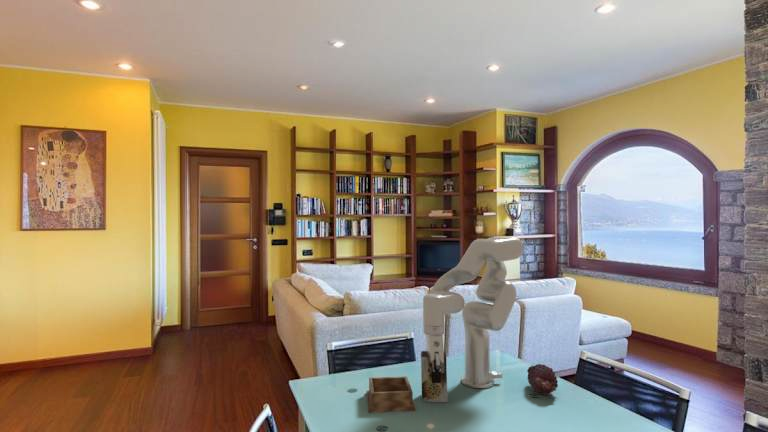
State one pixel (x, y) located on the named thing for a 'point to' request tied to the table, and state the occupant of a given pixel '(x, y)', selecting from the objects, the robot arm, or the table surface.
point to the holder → (389, 395)
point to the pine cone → (542, 379)
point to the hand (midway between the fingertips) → (433, 378)
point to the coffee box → (429, 389)
